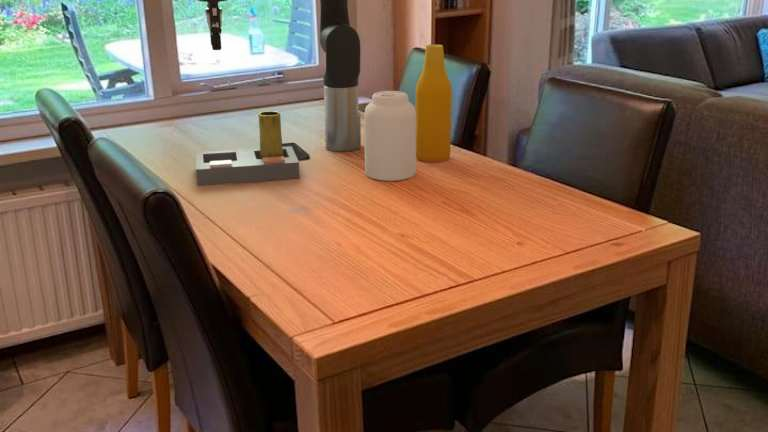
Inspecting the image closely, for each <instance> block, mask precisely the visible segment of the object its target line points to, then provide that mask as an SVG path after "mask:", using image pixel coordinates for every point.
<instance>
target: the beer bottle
mask: <svg viewBox="0 0 768 432" xmlns="http://www.w3.org/2000/svg"><path fill="white" fill-rule="evenodd" d="M424 52H425V53H424V62H423V67H422V72H421V75H420V76H419V78H418V81H417V83H416V88H415V110H416V160H418V161H420V162H423V163H431V164H433V163H434V164H435V163H444V162H447V161H448V160H449V159H450V156H451V134H452V133H451V130H452V129H451V128H452V127H451V126H452V97H453V96H452V95H453V90H452V85H451V81H450V79H449V76H448V74H447V72H446V66H445V55H444V46H443V44H426V46H425V51H424Z"/></svg>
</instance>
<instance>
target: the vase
mask: <svg viewBox="0 0 768 432" xmlns="http://www.w3.org/2000/svg"><path fill="white" fill-rule="evenodd" d="M281 120H282V119H281V112H279V111H275V110H267V111H260V112H258V126H259V148H260V159H263V158H265V157H280V156H283V150H282V144H283V138H282V137H283V136H282V122H281Z"/></svg>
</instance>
